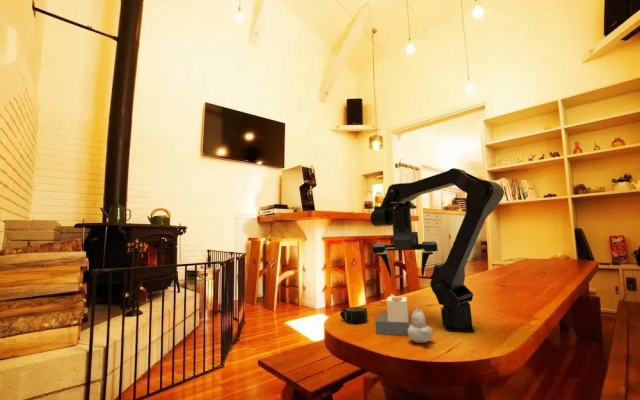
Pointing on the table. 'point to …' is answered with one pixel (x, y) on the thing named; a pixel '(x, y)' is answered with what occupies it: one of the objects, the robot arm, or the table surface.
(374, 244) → the robot arm
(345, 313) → the tape measure
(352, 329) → the table surface
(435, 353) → the table surface
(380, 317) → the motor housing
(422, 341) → the white rounded figure
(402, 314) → the cream box
